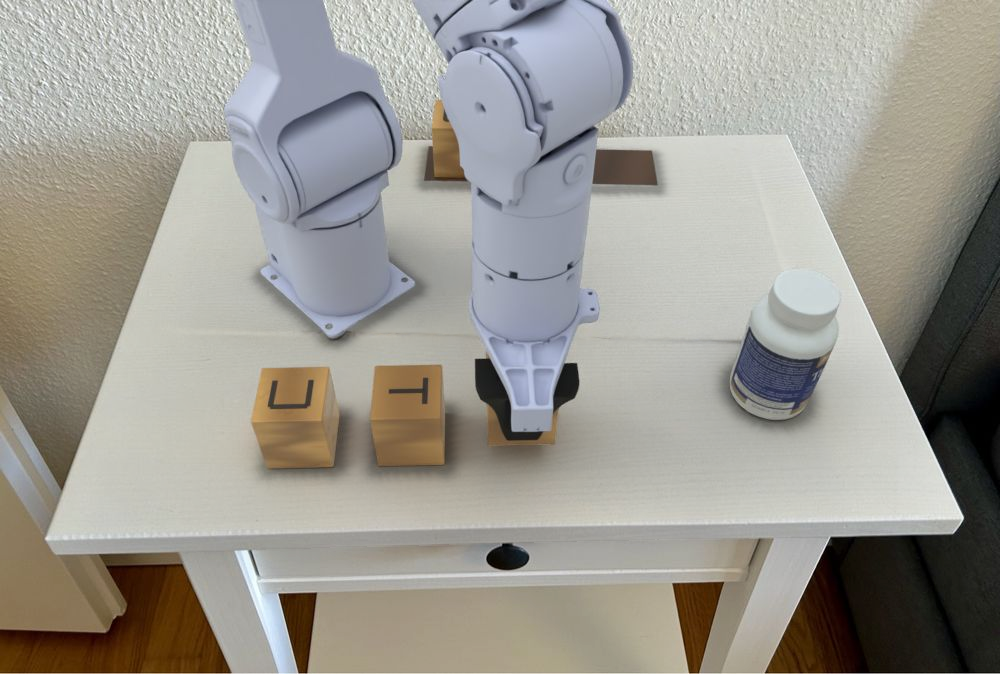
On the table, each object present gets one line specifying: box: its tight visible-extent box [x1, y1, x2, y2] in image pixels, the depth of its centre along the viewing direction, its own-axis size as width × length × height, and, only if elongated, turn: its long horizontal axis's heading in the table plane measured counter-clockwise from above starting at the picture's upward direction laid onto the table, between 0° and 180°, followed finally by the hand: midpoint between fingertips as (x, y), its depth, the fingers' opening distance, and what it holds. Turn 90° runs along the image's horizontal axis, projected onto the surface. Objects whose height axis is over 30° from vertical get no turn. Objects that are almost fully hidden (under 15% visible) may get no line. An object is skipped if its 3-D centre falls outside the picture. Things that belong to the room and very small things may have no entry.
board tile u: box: [431, 99, 466, 178], centre depth 72 cm, size 4×4×5 cm
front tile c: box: [250, 366, 341, 470], centre depth 53 cm, size 4×4×5 cm
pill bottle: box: [729, 267, 842, 421], centre depth 54 cm, size 5×5×10 cm
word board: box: [423, 145, 658, 186], centre depth 74 cm, size 20×5×1 cm, turn 89°
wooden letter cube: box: [485, 351, 560, 447], centre depth 52 cm, size 4×4×5 cm
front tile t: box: [369, 364, 446, 467], centre depth 53 cm, size 4×4×5 cm
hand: (520, 404), depth 53 cm, fingers closed on wooden letter cube, 4 cm apart
